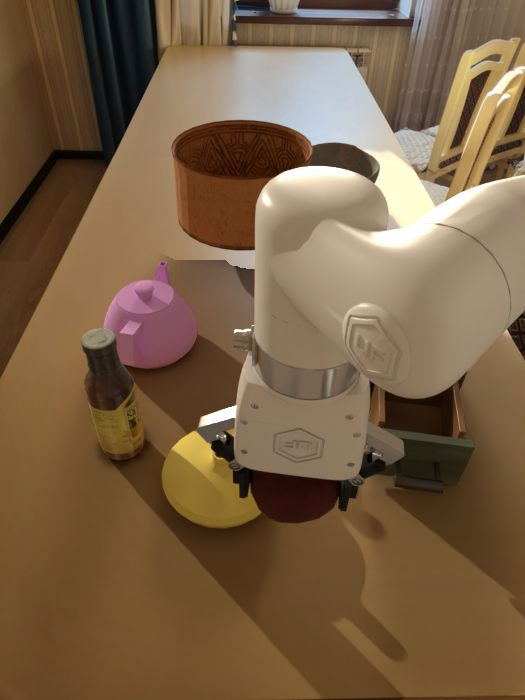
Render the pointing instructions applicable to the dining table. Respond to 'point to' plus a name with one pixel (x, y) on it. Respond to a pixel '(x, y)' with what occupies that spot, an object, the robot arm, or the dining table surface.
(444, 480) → the drawer
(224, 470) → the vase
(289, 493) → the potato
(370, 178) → the bowl
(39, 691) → the dining table surface
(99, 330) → the sauce bottle
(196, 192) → the pot
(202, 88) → the dining table surface
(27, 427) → the dining table surface
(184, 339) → the teapot
